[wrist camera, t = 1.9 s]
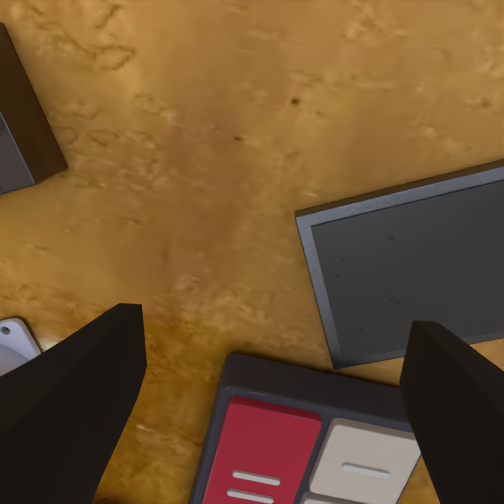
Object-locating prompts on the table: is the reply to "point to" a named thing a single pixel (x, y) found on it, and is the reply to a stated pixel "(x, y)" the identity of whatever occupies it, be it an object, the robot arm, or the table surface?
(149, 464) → the table surface
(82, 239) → the table surface
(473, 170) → the tablet
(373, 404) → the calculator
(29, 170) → the stand
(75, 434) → the robot arm
